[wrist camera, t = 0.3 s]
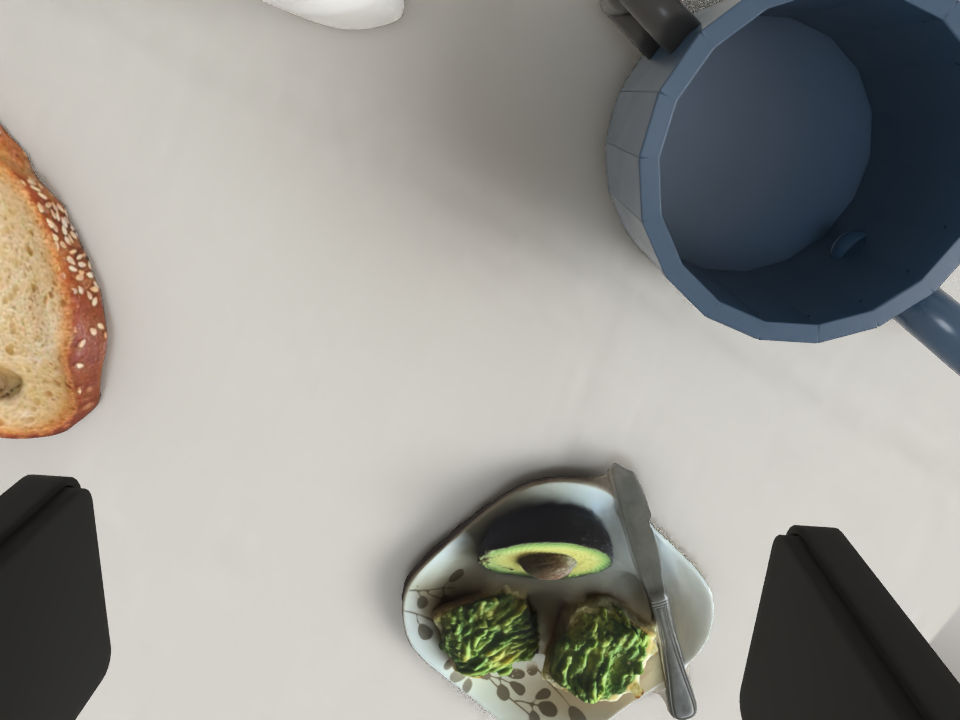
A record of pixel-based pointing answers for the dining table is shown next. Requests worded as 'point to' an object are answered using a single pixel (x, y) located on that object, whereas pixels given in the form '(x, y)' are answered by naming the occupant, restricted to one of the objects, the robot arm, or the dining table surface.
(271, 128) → the dining table surface
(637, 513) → the salad plate
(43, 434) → the slice of bread
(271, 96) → the dining table surface
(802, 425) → the dining table surface
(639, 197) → the teapot
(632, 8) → the teapot spout and handle
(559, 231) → the dining table surface
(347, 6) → the eye dropper bottle
